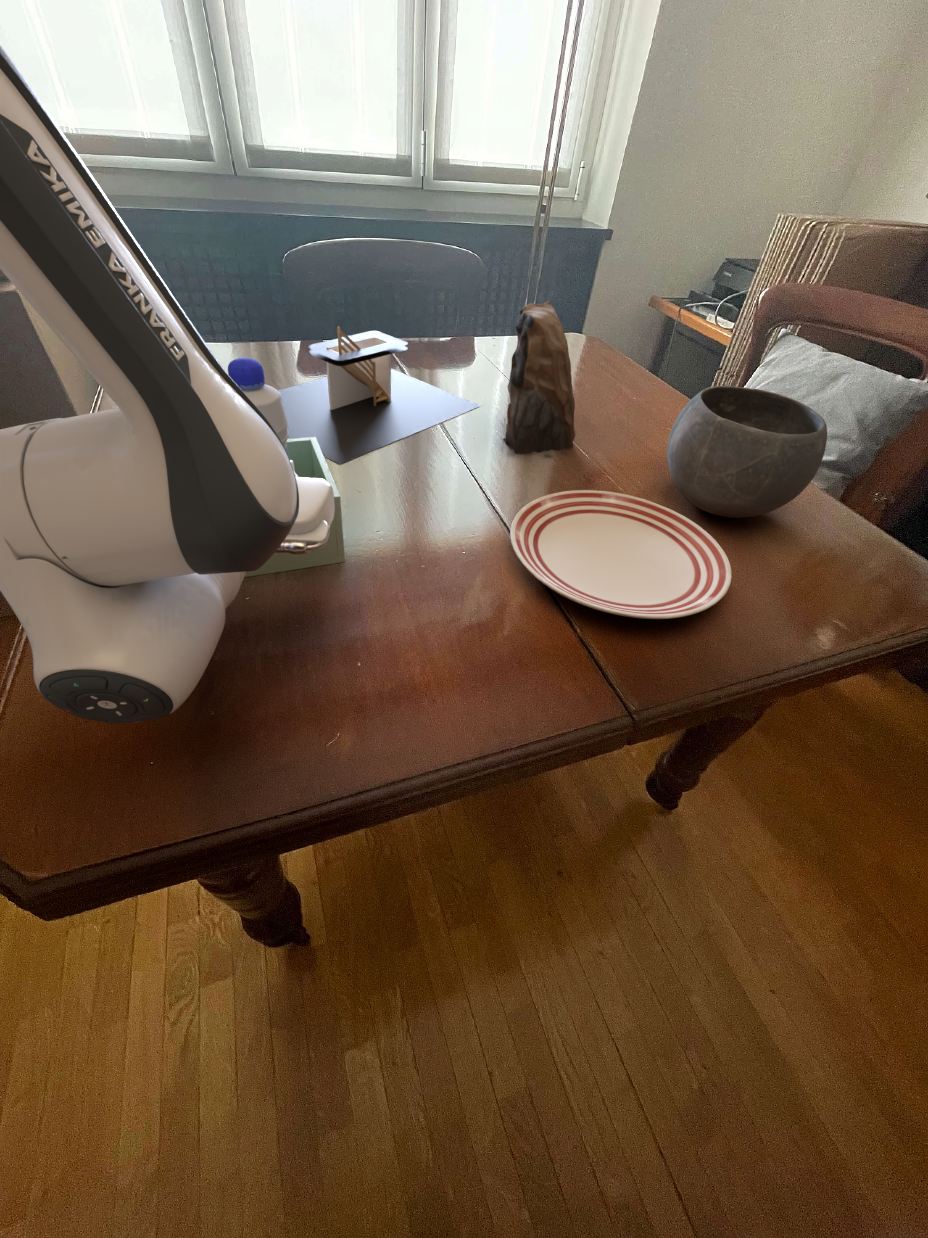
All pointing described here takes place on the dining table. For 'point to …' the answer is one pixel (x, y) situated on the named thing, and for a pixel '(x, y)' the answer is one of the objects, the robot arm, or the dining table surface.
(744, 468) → the bowl
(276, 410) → the bottle
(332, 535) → the open storage bin
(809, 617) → the dining table surface
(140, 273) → the robot arm
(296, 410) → the architectural model
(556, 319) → the brown carved statue
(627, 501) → the dinner plate
